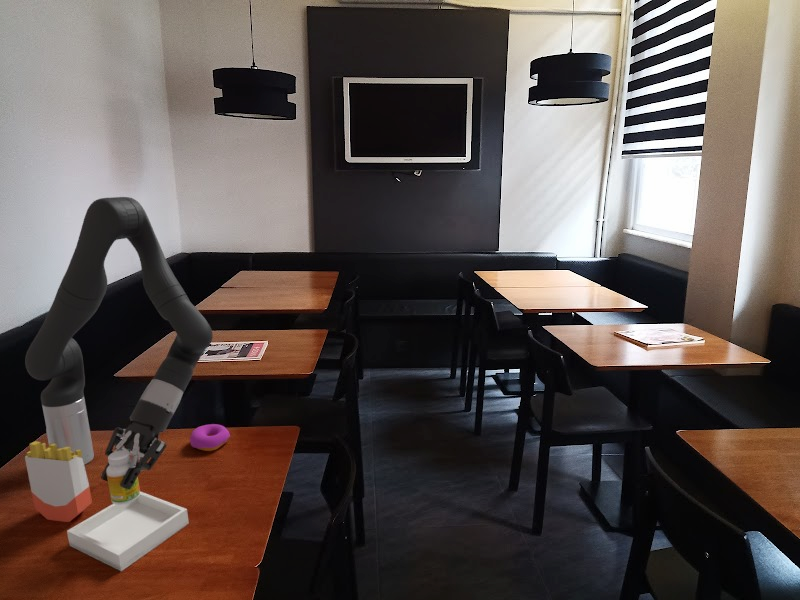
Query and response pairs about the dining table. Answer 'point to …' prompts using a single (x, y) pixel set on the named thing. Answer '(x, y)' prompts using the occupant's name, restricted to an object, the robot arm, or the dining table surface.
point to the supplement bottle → (120, 478)
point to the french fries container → (57, 481)
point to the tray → (127, 530)
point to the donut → (209, 437)
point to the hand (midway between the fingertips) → (114, 483)
